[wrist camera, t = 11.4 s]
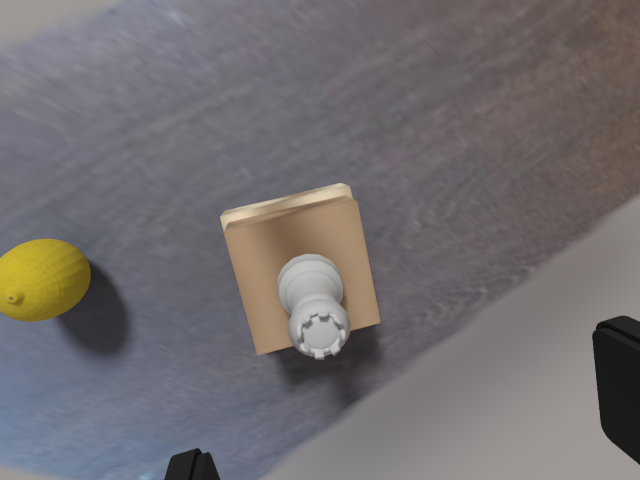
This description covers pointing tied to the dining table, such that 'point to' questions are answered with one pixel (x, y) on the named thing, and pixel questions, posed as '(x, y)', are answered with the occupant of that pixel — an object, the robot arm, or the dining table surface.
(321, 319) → the rook chess piece
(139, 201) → the dining table surface
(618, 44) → the dining table surface
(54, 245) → the lemon
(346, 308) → the tan top block
